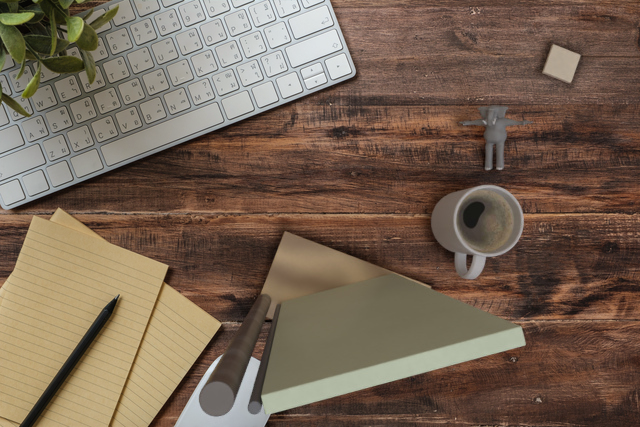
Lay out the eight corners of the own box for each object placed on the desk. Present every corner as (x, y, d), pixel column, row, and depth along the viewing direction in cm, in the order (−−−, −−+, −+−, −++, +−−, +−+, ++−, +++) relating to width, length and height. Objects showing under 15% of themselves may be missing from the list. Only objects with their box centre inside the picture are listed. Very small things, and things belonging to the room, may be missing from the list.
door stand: (400, 365, 67) (552, 559, 27) (252, 310, 67) (186, 427, 27) (429, 285, 68) (618, 360, 28) (283, 230, 67) (263, 226, 27)
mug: (461, 178, 69) (489, 169, 59) (507, 226, 69) (542, 225, 59) (408, 231, 68) (427, 231, 58) (454, 279, 68) (481, 287, 58)
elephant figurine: (452, 172, 69) (451, 108, 66) (467, 162, 73) (467, 102, 70) (525, 176, 63) (527, 107, 60) (537, 165, 67) (539, 100, 65)
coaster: (569, 83, 70) (571, 82, 70) (541, 73, 70) (543, 71, 69) (578, 56, 70) (581, 54, 70) (551, 45, 70) (553, 43, 70)
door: (397, 289, 66) (532, 365, 29) (279, 320, 66) (255, 440, 28) (393, 272, 67) (521, 325, 29) (275, 303, 66) (245, 399, 28)
